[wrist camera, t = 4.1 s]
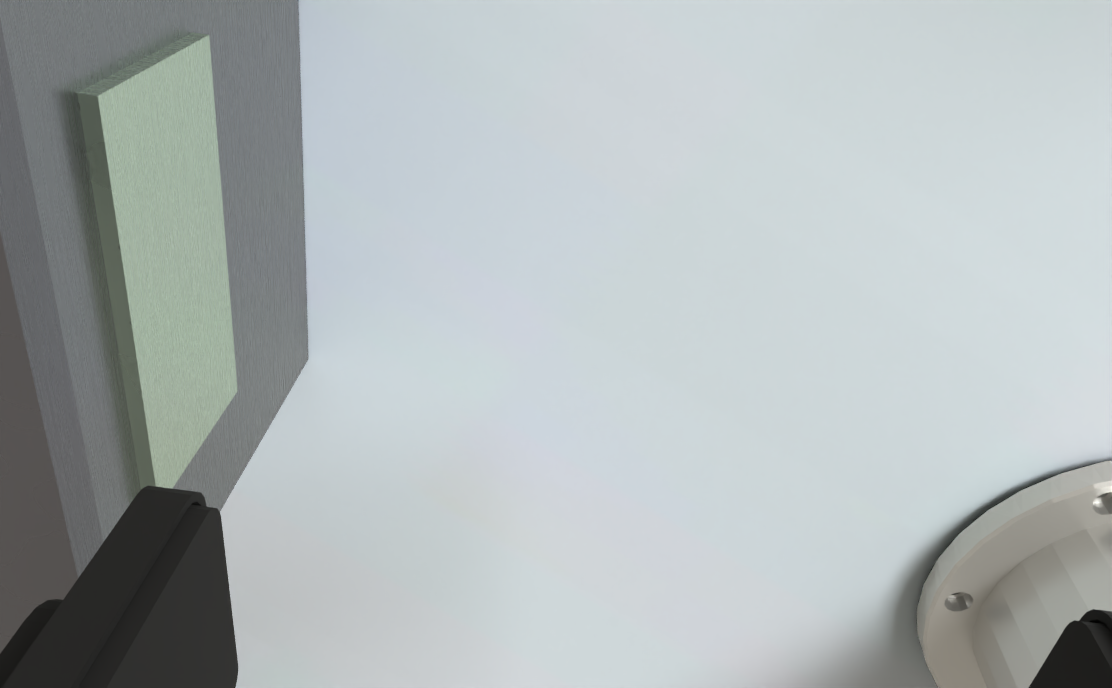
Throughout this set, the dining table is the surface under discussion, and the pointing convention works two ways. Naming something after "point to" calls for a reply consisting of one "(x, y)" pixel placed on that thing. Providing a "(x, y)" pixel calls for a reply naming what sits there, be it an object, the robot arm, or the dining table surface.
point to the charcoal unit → (140, 264)
